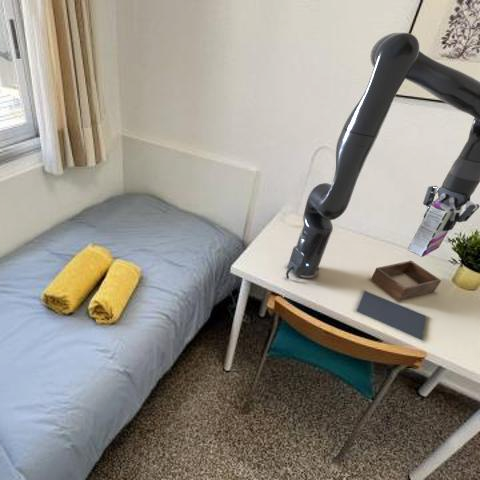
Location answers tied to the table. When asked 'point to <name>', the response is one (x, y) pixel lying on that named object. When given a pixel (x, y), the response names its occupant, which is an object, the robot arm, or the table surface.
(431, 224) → the candy bar box
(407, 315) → the desk mat
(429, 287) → the desk box
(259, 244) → the table surface
